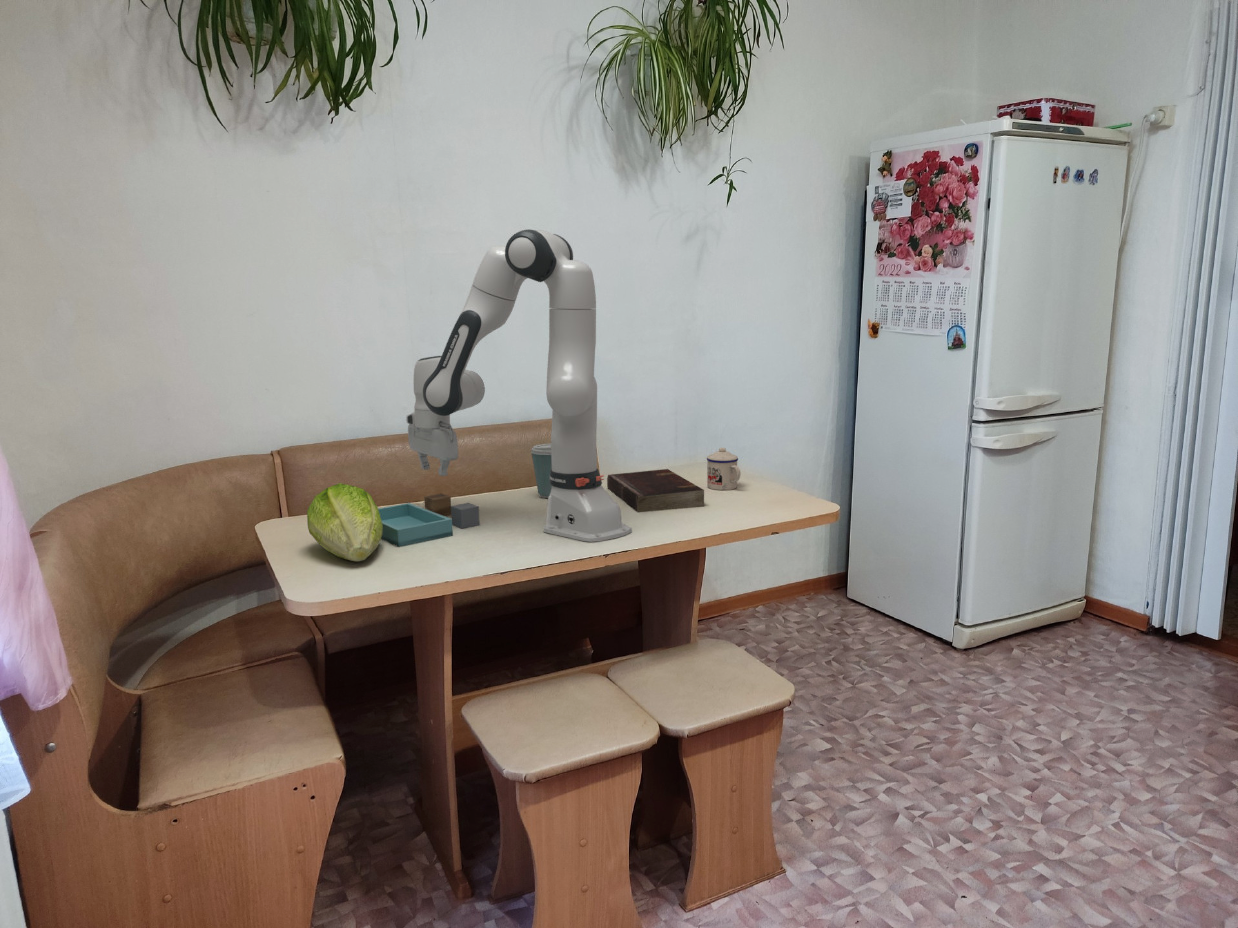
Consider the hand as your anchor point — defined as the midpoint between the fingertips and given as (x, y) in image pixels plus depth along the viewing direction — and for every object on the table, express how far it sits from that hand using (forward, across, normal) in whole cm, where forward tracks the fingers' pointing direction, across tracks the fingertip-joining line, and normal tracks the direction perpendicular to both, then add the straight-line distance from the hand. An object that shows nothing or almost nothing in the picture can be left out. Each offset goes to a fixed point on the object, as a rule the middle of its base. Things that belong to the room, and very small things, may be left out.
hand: (434, 472), depth 225 cm
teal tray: (+11, -10, +14) cm, 20 cm away
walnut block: (+11, -1, 0) cm, 11 cm away
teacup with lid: (+10, -31, -78) cm, 84 cm away
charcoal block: (+11, -15, 0) cm, 18 cm away
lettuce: (+12, -18, +31) cm, 37 cm away
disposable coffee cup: (+11, -4, -34) cm, 36 cm away
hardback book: (+11, -25, -55) cm, 61 cm away
